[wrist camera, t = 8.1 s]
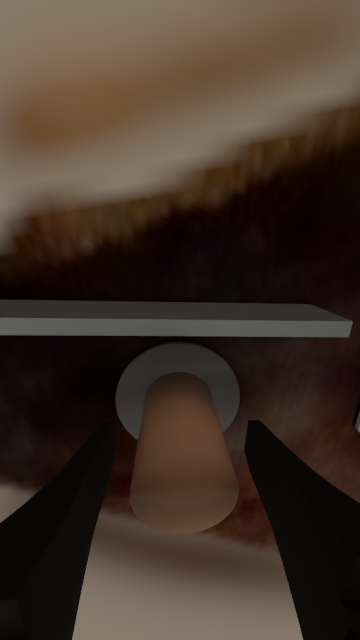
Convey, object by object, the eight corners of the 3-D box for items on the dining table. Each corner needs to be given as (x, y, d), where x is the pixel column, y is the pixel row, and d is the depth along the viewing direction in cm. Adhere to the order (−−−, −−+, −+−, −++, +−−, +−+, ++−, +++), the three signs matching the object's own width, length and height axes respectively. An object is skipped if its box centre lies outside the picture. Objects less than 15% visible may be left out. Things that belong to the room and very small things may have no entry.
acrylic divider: (310, 304, 15) (352, 321, 11) (307, 316, 15) (348, 337, 11) (-31, 299, 13) (-96, 316, 10) (-28, 312, 14) (-91, 334, 10)
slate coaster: (242, 339, 15) (246, 345, 14) (230, 441, 17) (233, 450, 17) (114, 339, 15) (111, 344, 14) (120, 443, 17) (118, 452, 16)
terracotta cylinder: (214, 372, 15) (244, 452, 9) (210, 429, 16) (233, 531, 10) (143, 372, 14) (127, 455, 9) (144, 430, 16) (131, 535, 10)
